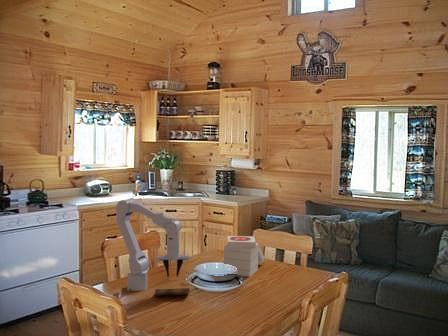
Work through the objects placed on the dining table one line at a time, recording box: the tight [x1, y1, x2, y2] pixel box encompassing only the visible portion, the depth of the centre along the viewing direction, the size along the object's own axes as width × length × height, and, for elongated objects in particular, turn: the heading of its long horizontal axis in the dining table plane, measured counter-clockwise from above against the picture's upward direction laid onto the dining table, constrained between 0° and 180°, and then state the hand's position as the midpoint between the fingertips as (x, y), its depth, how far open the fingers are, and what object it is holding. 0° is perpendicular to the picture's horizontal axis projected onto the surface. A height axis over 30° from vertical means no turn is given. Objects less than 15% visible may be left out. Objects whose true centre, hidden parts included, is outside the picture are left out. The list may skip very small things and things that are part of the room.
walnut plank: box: [154, 287, 190, 297], centre depth 215 cm, size 15×9×2 cm, turn 99°
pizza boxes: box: [223, 235, 265, 278], centre depth 266 cm, size 19×30×18 cm, turn 159°
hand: (172, 276), depth 219 cm, fingers open, 4 cm apart
